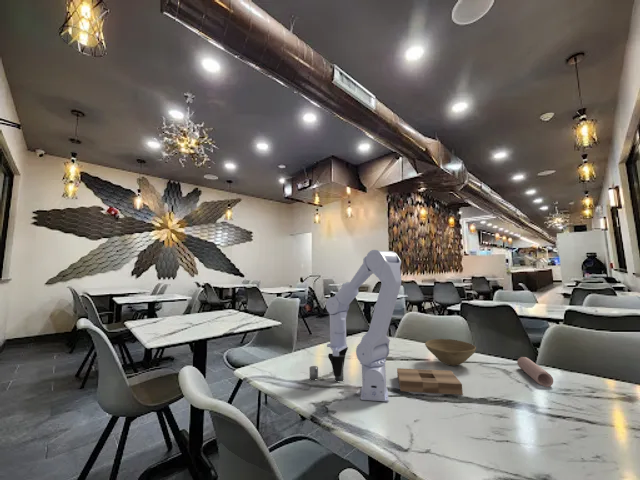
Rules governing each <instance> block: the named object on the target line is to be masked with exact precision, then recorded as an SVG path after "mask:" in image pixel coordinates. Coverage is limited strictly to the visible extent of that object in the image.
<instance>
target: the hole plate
mask: <svg viewBox="0 0 640 480" xmlns="http://www.w3.org/2000/svg"><path fill="white" fill-rule="evenodd" d="M396 373H397V381H398V386H399V390H400V392H407V393H408V392H410V393H411V392H412V393H427V394H428V393H429V394H442V395H443V394H445V395H463V383H461V381H460V379H458V377H457V376H456V375H455V374H454V372H453V371H452V370H445V369H444V370H443V369H424V368H423V369H421V368H420V369H419V368H401V367H400V368H399V367H398V368H396Z"/></svg>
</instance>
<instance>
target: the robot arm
mask: <svg viewBox="0 0 640 480" xmlns="http://www.w3.org/2000/svg"><path fill="white" fill-rule="evenodd" d="M401 264H402V260H401V259H400V257H399V255H398V254H397V253H396V252H395V251H392V250H378V249H371V250H370V251H368V252H367V254H366V256H364V257H363V262H362V264H361V265H360V267H359V268H358V270H357V271H356V273H355V274H354V275H353V277H352V278H351V280H350V281H347V282H344V283H342V284H341V287H340V288H339V290H338V291H337V292H336V293H335V295H334V296H331V297H328V298H327V300H326V303H325V307H326V308H325V309H326V311H327V313H328V314H329V343H327V344H326V347H327V348H330V350H331V351H332V353H328V354H327V356H328V360H329V361H330V364H331V367H332V372H333V373H332V374H333V376H334V377H335V376H338V377H340V376H341V372H342V364H343V368H344V367H345V366H344V365H345V361H346V355H347V352H348V350H349V347H348V344H347V321H346V320H347V317H348V311H349V309H350V304H351V303H352V302H353V300H354V299H355V298H356V297H357V295H358V294H359V288H360V287H361V286H362V285H363V284H364V283H366V281H367V280H368V279H369V278H370V276H372V274H374V275H375V276H376V277H377V278H378V280H379V281H380V282H381V285H380V287H379V288H380V289H379V292H378V296H377V300H376V303H375V306H374V310H373V313H372V318H371V319H370V325H369V329H368V331H367V332H366V333H365V334H363V336H362V338H361V340H360V343H359V344H357V346H356V348H355V349H356V350H355V354H356V357H357V360H358V361H359V364H360V365H361V378H362V379H361V381H362V386H361V391H360V400H361V401H374V402H389V391H388V387H387V375H386V362H387V358H388V357H389V355H390V342H391V340H390V338H389V337H388V336H387V334H388V331H389V329H390V325H391V322H392V317H393V314H394V310H395V308H396V307H395V306H396V303H397V300H398V296H399V294H400V289H401V285H402V273H401Z"/></svg>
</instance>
